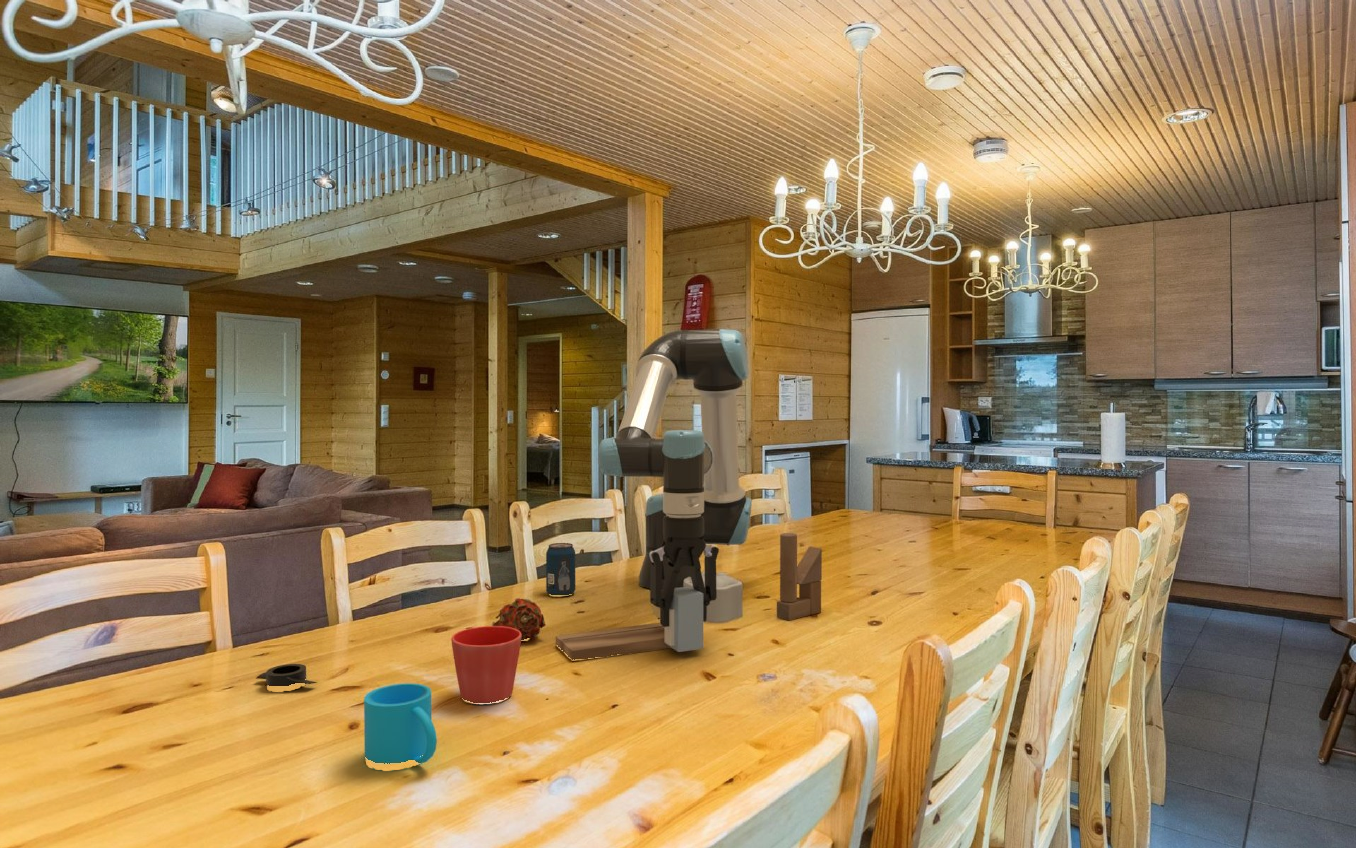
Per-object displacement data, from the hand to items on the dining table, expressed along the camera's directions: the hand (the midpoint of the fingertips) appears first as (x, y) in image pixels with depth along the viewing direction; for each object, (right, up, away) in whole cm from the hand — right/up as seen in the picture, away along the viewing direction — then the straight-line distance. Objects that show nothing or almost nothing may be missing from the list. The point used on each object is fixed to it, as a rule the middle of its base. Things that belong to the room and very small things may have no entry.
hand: (683, 641), depth 144 cm
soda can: (-29, -1, +45) cm, 53 cm away
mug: (-36, -3, -44) cm, 57 cm away
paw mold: (+6, -2, +27) cm, 28 cm away
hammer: (-2, -1, +4) cm, 5 cm away
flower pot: (-31, -3, -22) cm, 38 cm away
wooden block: (+25, -2, +26) cm, 36 cm away
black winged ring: (-64, -3, -17) cm, 67 cm away
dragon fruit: (-32, -2, +9) cm, 33 cm away
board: (-10, -2, +5) cm, 11 cm away
